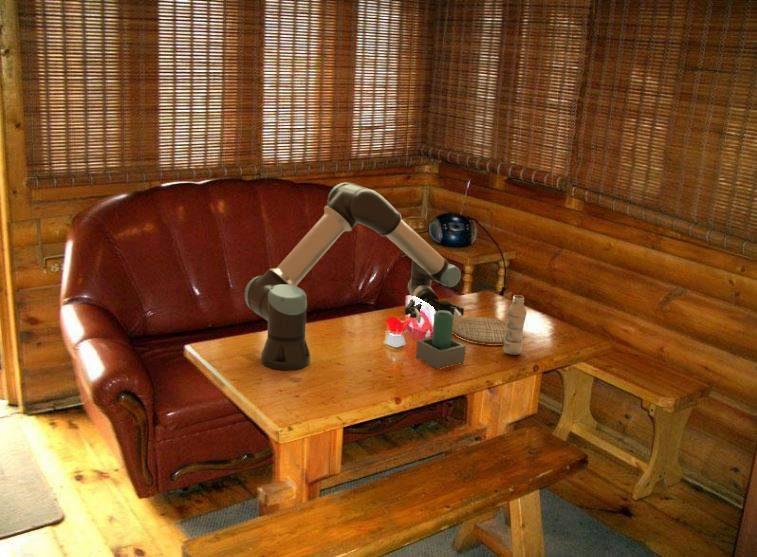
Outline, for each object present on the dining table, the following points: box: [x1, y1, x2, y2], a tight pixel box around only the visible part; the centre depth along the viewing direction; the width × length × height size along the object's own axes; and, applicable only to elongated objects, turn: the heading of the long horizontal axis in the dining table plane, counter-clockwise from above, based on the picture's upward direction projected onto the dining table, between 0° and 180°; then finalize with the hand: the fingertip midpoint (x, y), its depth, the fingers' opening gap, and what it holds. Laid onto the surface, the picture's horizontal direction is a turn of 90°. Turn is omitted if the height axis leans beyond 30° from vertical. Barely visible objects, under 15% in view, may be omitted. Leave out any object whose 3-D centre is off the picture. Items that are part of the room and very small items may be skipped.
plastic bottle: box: [502, 294, 527, 356], centre depth 271 cm, size 6×7×20 cm
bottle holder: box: [415, 337, 466, 370], centre depth 263 cm, size 11×11×6 cm
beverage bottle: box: [431, 300, 455, 350], centre depth 261 cm, size 6×7×20 cm
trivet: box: [452, 316, 507, 344], centre depth 292 cm, size 25×25×2 cm
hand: (439, 319), depth 267 cm, fingers open, 13 cm apart
